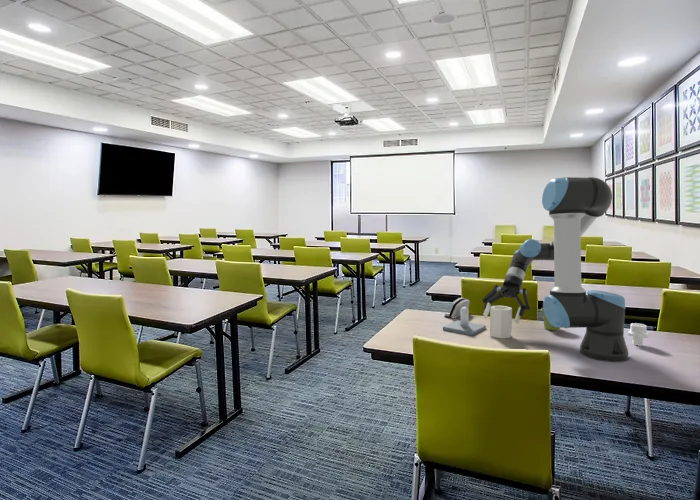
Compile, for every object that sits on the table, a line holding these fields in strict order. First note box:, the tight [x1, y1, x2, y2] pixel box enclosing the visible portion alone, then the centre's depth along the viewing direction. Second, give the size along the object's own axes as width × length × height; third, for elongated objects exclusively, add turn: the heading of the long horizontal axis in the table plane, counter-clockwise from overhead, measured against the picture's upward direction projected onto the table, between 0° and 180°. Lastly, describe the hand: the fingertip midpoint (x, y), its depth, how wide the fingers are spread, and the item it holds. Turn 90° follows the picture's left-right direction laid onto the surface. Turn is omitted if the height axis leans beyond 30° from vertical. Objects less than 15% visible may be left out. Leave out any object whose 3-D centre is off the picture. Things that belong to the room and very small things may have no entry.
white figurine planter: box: [627, 322, 649, 347], centre depth 162 cm, size 6×7×8 cm
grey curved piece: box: [443, 297, 471, 319], centre depth 211 cm, size 17×5×10 cm, turn 141°
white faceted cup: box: [489, 305, 513, 339], centre depth 176 cm, size 8×8×12 cm
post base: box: [442, 307, 487, 337], centre depth 186 cm, size 14×14×10 cm
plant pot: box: [540, 307, 561, 332], centre depth 185 cm, size 9×9×9 cm
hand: (500, 319), depth 177 cm, fingers open, 13 cm apart
